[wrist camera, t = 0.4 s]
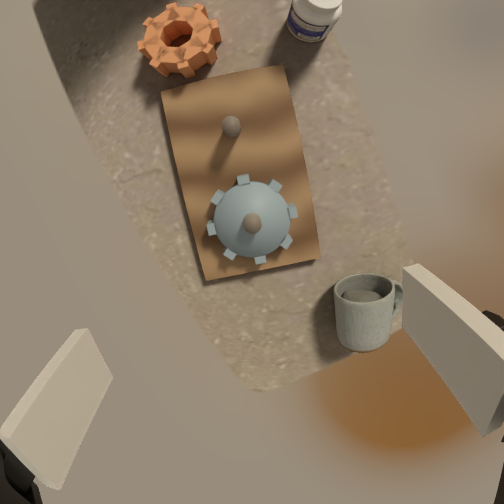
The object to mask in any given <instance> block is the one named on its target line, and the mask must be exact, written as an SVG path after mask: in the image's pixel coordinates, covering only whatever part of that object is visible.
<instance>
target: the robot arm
mask: <svg viewBox="0 0 504 504" xmlns="http://www.w3.org/2000/svg"><path fill="white" fill-rule="evenodd" d="M402 272H403V308H402V327H403V328H404V330H405V331H406V332H407V333H408V335H409V336H410V337H411V339H412V340H413V341H414V342H415V344H416V345H417V346H418V347H419V349H420V350H421V351H422V353H423V354H424V355H425V357H426V358H427V359H428V361H429V362H430V363H431V365H432V366H433V367H434V369H435V370H436V371H437V373H438V374H439V375H440V377H441V378H442V379H443V381H444V382H445V384H446V385H447V386H448V388H449V389H450V390H451V392H452V393H453V395H454V396H455V398H456V399H457V400H458V402H459V403H460V405H461V406H462V407H463V409H464V410H465V412H466V413H467V415H468V416H469V418H470V419H471V420H472V422H473V424H474V425H475V427H476V428H477V429H478V431H479V433H480V434H481V436H482V437H484V436H485V435H487V434H489V433H491V432H492V431H494V430H495V429H497V428H499V427H500V426H501V425H502V423H503V421H504V319H503V318H501V317H500V316H499V315H496V314H494V313H492V312H489V311H487V310H486V311H483V312H480V311H479V310H478V309H476V308H475V307H474V306H473V305H472V304H470V303H469V302H468V301H467V300H465V299H464V298H463V297H462V296H460V295H459V294H458V293H457V292H455V291H454V290H453V289H452V288H450V287H449V286H448V285H446V284H445V283H444V282H443V281H441V280H440V279H439V278H437V277H436V276H434V275H433V274H432V273H431V272H429V271H428V270H427V269H425V268H424V267H423V266H421V265H420V264H415V265H411V266H407V267H403V268H402ZM112 379H113V376H112V375H111V373H110V371H109V369H108V367H107V366H106V363H105V361H104V360H103V358H102V356H101V354H100V352H99V350H98V348H97V346H96V344H95V342H94V340H93V338H92V336H91V334H90V331H89V329H88V328H87V329H79V330H75V331H74V332H73V333H72V334H71V336H70V337H69V338H68V339H67V340H66V342H65V343H64V344H63V345H62V346H61V348H60V349H59V350H58V352H57V353H56V354H55V355H54V356H53V358H52V359H51V360H50V361H49V363H48V364H47V365H46V367H45V368H44V370H42V372H41V373H40V375H39V376H38V377H37V378H36V380H35V381H34V382H33V384H32V385H31V386H30V388H29V389H28V390H27V392H26V393H25V395H24V396H23V397H22V398H21V400H20V401H19V403H18V404H17V406H16V407H15V408H14V410H13V411H12V413H11V414H10V415H9V417H8V418H7V420H6V421H5V422H4V424H3V425H2V427H1V428H0V504H42V500H41V496H40V492H39V489H38V487H37V485H36V484H35V483H34V482H33V480H34V478H35V477H36V478H38V479H39V480H40V481H41V482H42V483H43V484H44V485H45V486H48V487H51V488H54V489H58V490H61V487H62V485H63V482H64V480H65V478H66V475H67V473H68V471H69V468H70V466H71V464H72V461H73V459H74V457H75V455H76V453H77V450H78V448H79V446H80V444H81V442H82V440H83V438H84V436H85V433H86V431H87V429H88V427H89V425H90V423H91V421H92V419H93V417H94V415H95V413H96V411H97V408H98V407H99V404H100V402H101V400H102V398H103V396H104V395H105V393H106V391H107V389H108V387H109V385H110V383H111V381H112ZM501 442H504V436H503V438H502V441H501ZM494 504H504V464H503V469H502V473H501V478H500V482H499V486H498V490H497V494H496V498H495V501H494Z"/></svg>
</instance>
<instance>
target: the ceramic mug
mask: <svg viewBox="0 0 504 504" xmlns="http://www.w3.org/2000/svg"><path fill="white" fill-rule="evenodd" d="M333 292H334V303H335V316H336V330H337V335H338V339H339V342H340V343H341V345H342V346H343V347H345V348H346V349H348V350H350V351H353V352H358V353H367V352H372V351H375V350H377V349H379V348H381V347H382V346H383V345H384V344H385V343H386V342H387V340H388V338H389V335H390V331H391V326H392V318H393V317H394V316H395V315H396V314H397V313H398V311H399V309H400V307H401V305H402V302H403V286H402V284H401V283H399V282H398V281H395V280H393V279H388V278H387V277H385V276H382V275H378V274H372V273H361V274H354V275H350V276H347V277H344V278H342V279H341V280H339V281H338V282H337V283H336V284H335V286H334V291H333Z"/></svg>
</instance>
